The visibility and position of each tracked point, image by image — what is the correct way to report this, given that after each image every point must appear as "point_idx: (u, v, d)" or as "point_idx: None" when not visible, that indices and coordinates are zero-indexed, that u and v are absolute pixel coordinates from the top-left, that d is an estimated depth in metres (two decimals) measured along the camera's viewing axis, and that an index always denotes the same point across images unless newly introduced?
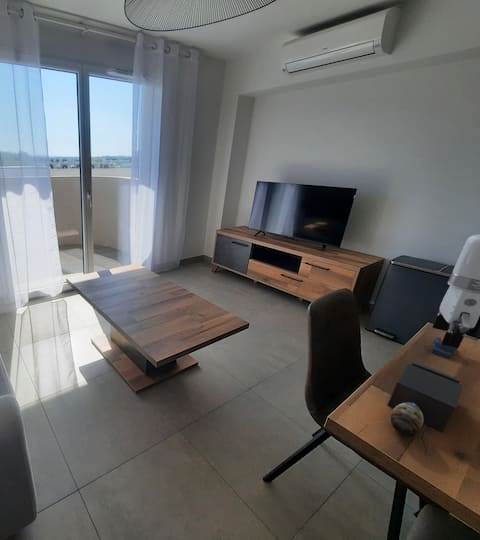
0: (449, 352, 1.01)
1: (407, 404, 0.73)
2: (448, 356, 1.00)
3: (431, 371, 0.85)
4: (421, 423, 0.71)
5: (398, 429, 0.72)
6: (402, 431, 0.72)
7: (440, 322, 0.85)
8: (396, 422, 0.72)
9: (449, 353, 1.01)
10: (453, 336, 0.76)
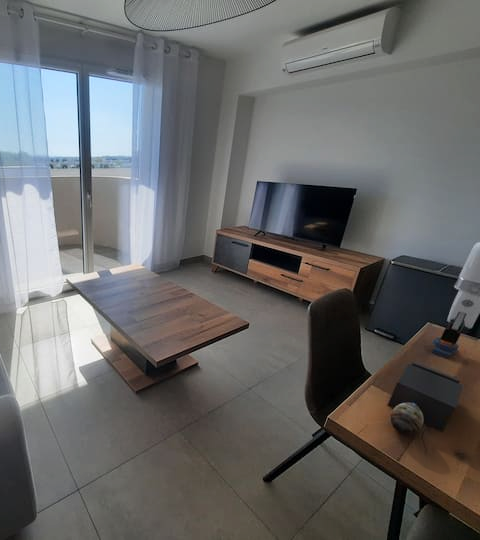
0: (449, 352, 1.01)
1: (407, 404, 0.73)
2: (448, 356, 1.00)
3: (431, 371, 0.85)
4: (421, 423, 0.71)
5: (398, 429, 0.72)
6: (402, 431, 0.72)
7: None
8: (396, 422, 0.72)
9: (449, 353, 1.01)
10: (450, 332, 0.85)
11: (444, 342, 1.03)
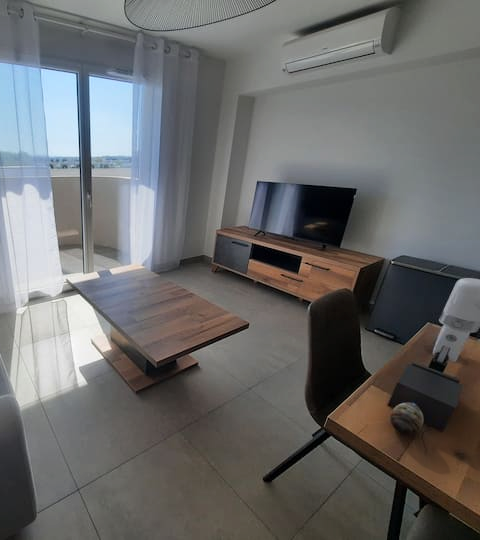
0: None
1: (407, 404, 0.73)
2: None
3: (431, 371, 0.85)
4: (421, 423, 0.71)
5: (398, 429, 0.72)
6: (402, 431, 0.72)
7: None
8: (396, 422, 0.72)
9: None
10: (436, 364, 0.87)
11: None
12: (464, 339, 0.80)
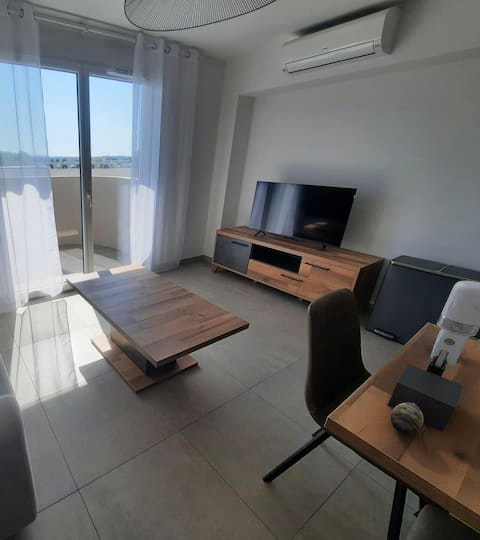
0: None
1: (407, 404, 0.73)
2: None
3: None
4: (421, 423, 0.71)
5: (398, 429, 0.72)
6: (402, 431, 0.72)
7: None
8: (396, 422, 0.72)
9: None
10: (434, 368, 0.86)
11: None
12: (462, 343, 0.78)
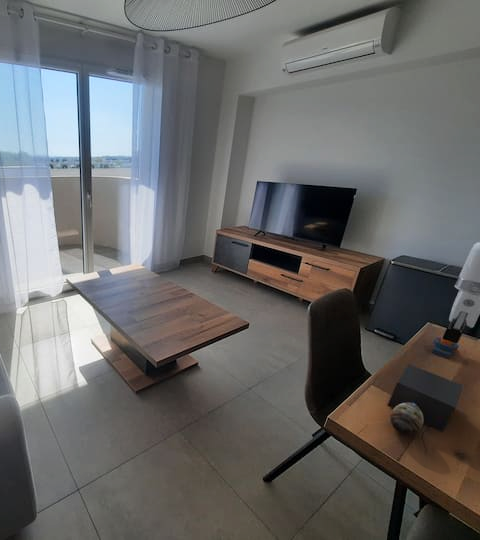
0: (449, 352, 1.01)
1: (407, 404, 0.73)
2: (448, 356, 1.00)
3: None
4: (421, 423, 0.71)
5: (398, 429, 0.72)
6: (402, 431, 0.72)
7: None
8: (396, 422, 0.72)
9: (449, 353, 1.01)
10: (451, 331, 0.86)
11: (444, 342, 1.03)
12: None
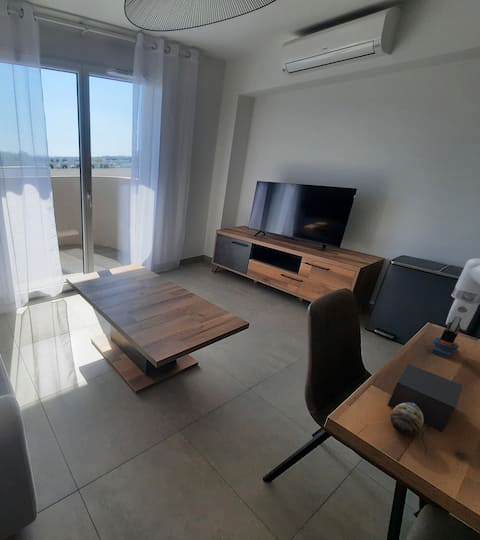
0: (449, 352, 1.01)
1: (407, 404, 0.73)
2: (448, 356, 1.00)
3: None
4: (421, 423, 0.71)
5: (398, 429, 0.72)
6: (402, 431, 0.72)
7: None
8: (396, 422, 0.72)
9: (449, 353, 1.01)
10: (448, 333, 1.02)
11: None
12: (473, 310, 0.94)
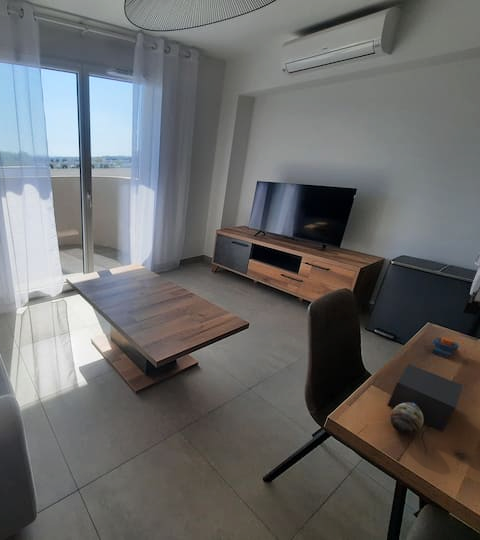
0: (449, 352, 1.01)
1: (407, 404, 0.73)
2: (448, 356, 1.00)
3: None
4: (421, 423, 0.71)
5: (398, 429, 0.72)
6: (402, 431, 0.72)
7: None
8: (396, 422, 0.72)
9: (449, 353, 1.01)
10: (472, 305, 0.95)
11: (444, 342, 1.03)
12: None
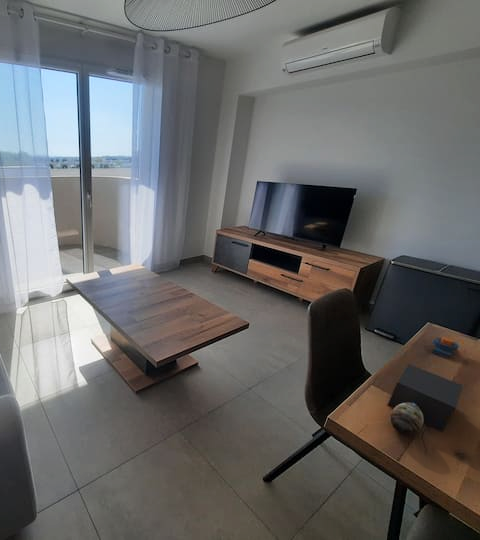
0: (449, 352, 1.01)
1: (407, 404, 0.73)
2: (448, 356, 1.00)
3: None
4: (421, 423, 0.71)
5: (398, 429, 0.72)
6: (402, 431, 0.72)
7: None
8: (396, 422, 0.72)
9: (449, 353, 1.01)
10: None
11: (444, 342, 1.03)
12: None
